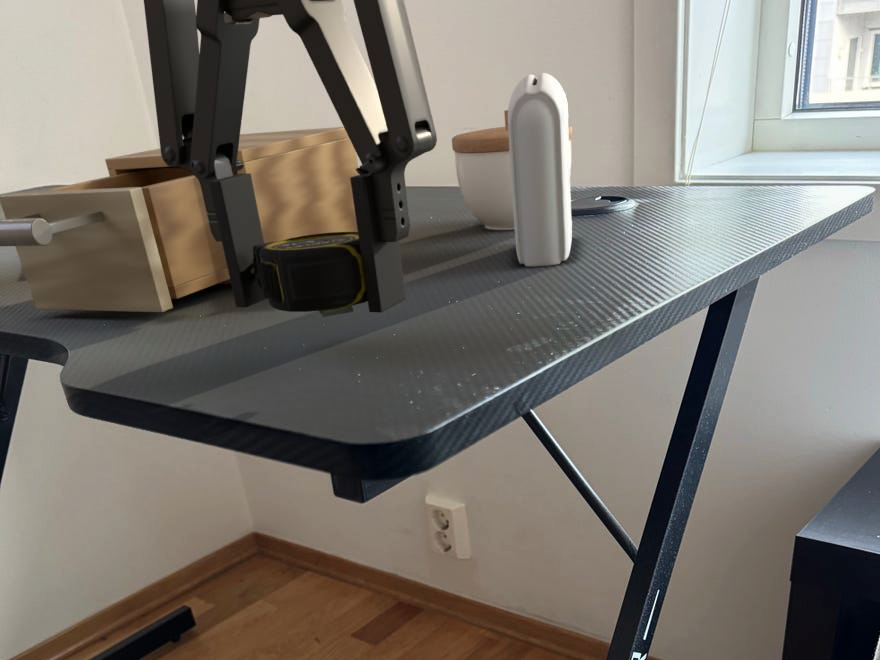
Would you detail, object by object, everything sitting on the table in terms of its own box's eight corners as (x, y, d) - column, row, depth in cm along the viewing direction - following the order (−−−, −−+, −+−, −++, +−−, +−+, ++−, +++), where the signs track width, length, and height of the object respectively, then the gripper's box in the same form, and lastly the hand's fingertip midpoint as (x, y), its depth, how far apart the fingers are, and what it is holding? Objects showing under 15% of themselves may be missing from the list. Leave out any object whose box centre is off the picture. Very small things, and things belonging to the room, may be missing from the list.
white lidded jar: (473, 218, 92) (464, 110, 87) (581, 211, 89) (578, 100, 84) (448, 240, 83) (436, 121, 78) (567, 232, 81) (562, 109, 76)
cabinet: (269, 286, 73) (241, 150, 68) (139, 285, 79) (104, 159, 73) (369, 245, 85) (352, 126, 79) (250, 246, 90) (227, 135, 85)
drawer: (96, 338, 60) (55, 207, 56) (-34, 333, 65) (-81, 212, 61) (282, 265, 75) (262, 158, 71) (166, 265, 80) (140, 165, 76)
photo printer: (522, 244, 78) (512, 73, 71) (573, 240, 77) (568, 67, 71) (513, 271, 69) (500, 79, 63) (570, 267, 69) (563, 73, 62)
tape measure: (375, 288, 55) (366, 220, 53) (400, 313, 50) (390, 238, 47) (261, 306, 54) (246, 237, 52) (272, 334, 48) (257, 257, 46)
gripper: (-16, -211, 41) (131, 314, 53) (396, -325, 33) (456, 329, 45) (106, -189, 46) (214, 283, 59) (485, -281, 38) (517, 291, 51)
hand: (319, 302), depth 52 cm, fingers closed on tape measure, 8 cm apart
